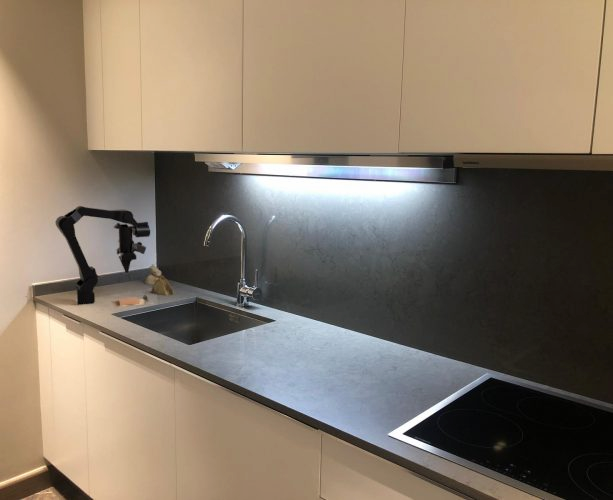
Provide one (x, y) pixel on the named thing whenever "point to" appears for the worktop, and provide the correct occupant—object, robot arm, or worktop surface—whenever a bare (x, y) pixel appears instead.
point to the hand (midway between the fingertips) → (126, 272)
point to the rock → (162, 287)
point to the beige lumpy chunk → (153, 275)
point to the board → (141, 301)
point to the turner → (147, 300)
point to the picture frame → (128, 301)
